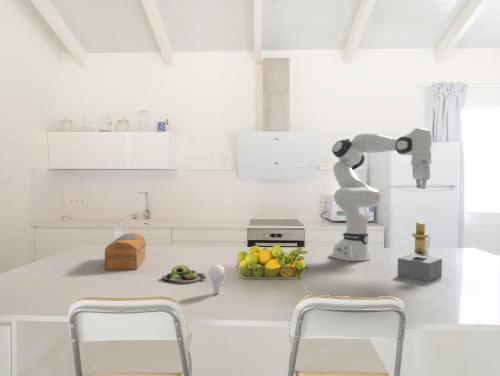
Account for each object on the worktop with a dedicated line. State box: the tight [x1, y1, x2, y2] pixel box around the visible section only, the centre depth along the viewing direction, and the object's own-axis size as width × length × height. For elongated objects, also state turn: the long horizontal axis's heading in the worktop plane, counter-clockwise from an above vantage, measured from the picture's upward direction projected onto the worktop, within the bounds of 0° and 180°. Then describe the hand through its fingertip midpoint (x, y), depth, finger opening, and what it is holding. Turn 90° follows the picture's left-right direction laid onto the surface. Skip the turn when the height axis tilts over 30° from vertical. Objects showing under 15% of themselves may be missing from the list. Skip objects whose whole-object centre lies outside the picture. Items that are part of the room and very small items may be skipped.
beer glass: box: [415, 236, 432, 257], centre depth 196 cm, size 7×7×15 cm
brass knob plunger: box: [411, 222, 429, 255], centre depth 179 cm, size 7×7×14 cm
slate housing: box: [397, 253, 443, 282], centre depth 180 cm, size 14×14×8 cm
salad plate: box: [161, 265, 208, 285], centre depth 174 cm, size 19×18×5 cm
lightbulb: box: [208, 264, 226, 294], centre depth 151 cm, size 6×6×11 cm
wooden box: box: [104, 232, 147, 271], centre depth 203 cm, size 30×16×14 cm, turn 6°
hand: (420, 188), depth 198 cm, fingers open, 8 cm apart
